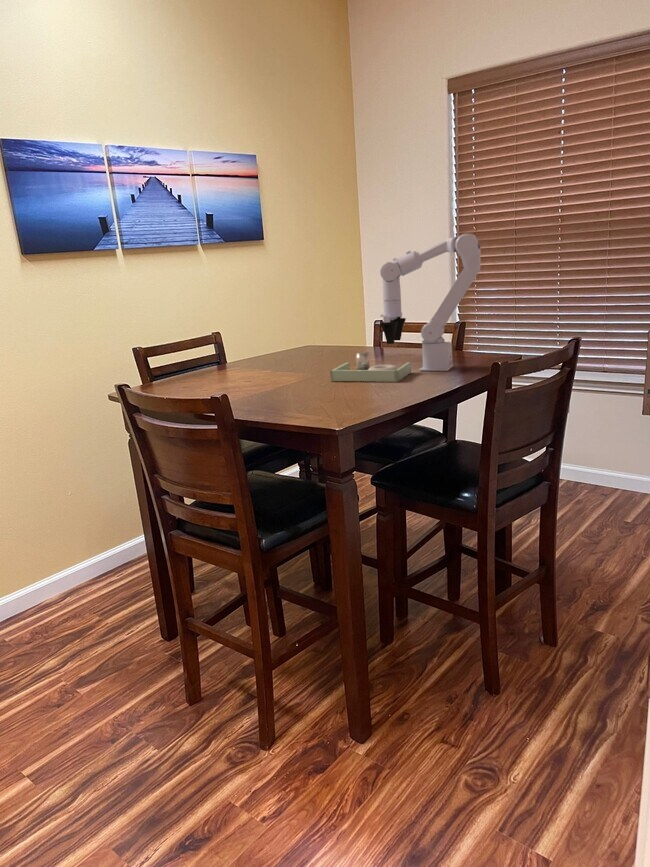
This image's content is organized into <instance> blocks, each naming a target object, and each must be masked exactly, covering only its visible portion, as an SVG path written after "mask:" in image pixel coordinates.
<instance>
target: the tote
mask: <svg viewBox="0 0 650 867" xmlns="http://www.w3.org/2000/svg"><path fill="white" fill-rule="evenodd" d="M411 364H412V362H411V361H407V362H406V363H404V364H402V365H401V366H400V367H398V369H396V370H357V369H351V364H350V361H349V362H348V361H347V362H344V363H342V364H340V365H338V366H337V367H335V368H333V369H331V370H329V371H330V372H329V374H330V382H331V381H359V382H358V383H366V382H365V381H379V382H378V383H399V382H401V381H402V380H403V379H405V378H406V377H407V376H409V375H410V374H411V373H412V365H411ZM408 374H409V375H408ZM404 377H405V378H404ZM400 380H401V381H400ZM360 381H362V382H360ZM363 381H364V382H363Z"/></svg>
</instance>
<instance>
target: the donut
mask: <svg viewBox="0 0 650 867" xmlns="http://www.w3.org/2000/svg"><path fill="white" fill-rule="evenodd" d="M398 368H399V367H398V366H397V365H395V364H375V365H373V366H369V369H368V370H396V369H398Z"/></svg>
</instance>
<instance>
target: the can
mask: <svg viewBox="0 0 650 867" xmlns="http://www.w3.org/2000/svg"><path fill="white" fill-rule="evenodd" d="M369 355H370V353H369V352H367V351H362V352H355V363H356V364H355V366H356V368H355V369H356V370H368V369H369V368H370V356H369Z"/></svg>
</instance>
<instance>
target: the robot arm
mask: <svg viewBox="0 0 650 867" xmlns="http://www.w3.org/2000/svg"><path fill="white" fill-rule="evenodd" d="M481 249H482V246H481V245H480V241H479V238H478V237H477V236H476V235H475V234H473V233H462V234H460V235H458V236H453V237H450V238H447V239H444V240H442V241H441V242H438V243H437V244H435V245H432V246H431V247H429V248H427V249H425V250H423V251H421V252H417V251H416V250H413V251H411V250H409V251H406V252H405V253H406V254H404V255H403V256H400V257H397V258H396V257H395V258H392V261H391V262H390V261H389V262H388V261H387V262H386V263H384V264H383V265H381V267H380V271H379V272H380V274H379V275H380V277H381V278H382V299H383V302H382V303H383V304H382V305H383V313H381V314H380V317H383V318H382V319H383V321H381V322H379V325H380V327H381V329H382V331H383V333H384V336H385V341H386V343H387V345H390V344H391V345H392V344H393V345H394V344H395V341H401V340H402V333H403V328H404V325H405V322H406V320H407V318H406V317H403V312H402V294H401V282H400V279H401V278H400V277H404V276H406V275H409V274H410V273H413V272H415V271H416V270H419V269H421V268H422V266H423V263H425V262H426V261H430V260H432V259H433V258H435V257H438V256H440V255H443V254H445V253H457V254H458V255H459V257H460V258H461V262H462V265H463V269H462V270H461V272H460V273H459V275H458V276H457V278H456V280H455V281H454V283H453V285H452V286H451V288H450V290H449V291H448V292H447V295H446V296H445V297H444V299H443V300H442V302H441V304H440V305H439V307H438V309H437V311H435V313H434V314H433V316H432V317H431V319H430V321H428V322H426V324H424V325H423V326H422V327H421V330H420V335H421V337H422V341H421V345H422V346H421V348H422V349H421V350H422V351H421V352H422V353H421V354H422V366H421V367H420V368H419V369H418V370H419V372H420V371H422V372H423V371H424V372H426V371H429V372H430V371H433V372H434V371H435V372H436V371H438V372H440V371H441V372H444V371H446V372H448V371H449V370H450V369H452V368H453V367H454V365H453V345H452V344H453V343H452V342H451V341H445V339H444V337H443V335H444V333H445V331H446V330H445V328H446V325H447V323H448V321H449V320H450V318H451V316H452V315H453V313H454V312H455V310H456V308H457V307H458V305H459V304H460V302H461V300H462V299H463V298H464V296H465V294H466V293H467V291H468V290H469V288H470V286H471V285H472V284H473V282H474V280H475V279H476V278H477V276H478V274H479V272H480V270H481V267H482V266H481V261H482V260H481V259H482V258H481V257H482V256H481V253H482V252H481V251H482V250H481Z"/></svg>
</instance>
